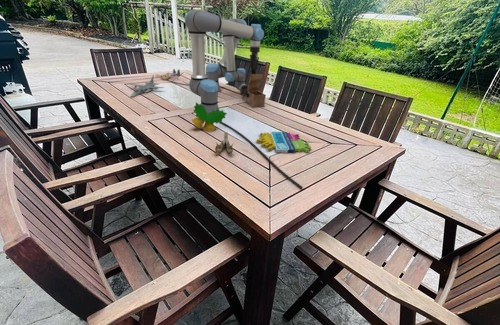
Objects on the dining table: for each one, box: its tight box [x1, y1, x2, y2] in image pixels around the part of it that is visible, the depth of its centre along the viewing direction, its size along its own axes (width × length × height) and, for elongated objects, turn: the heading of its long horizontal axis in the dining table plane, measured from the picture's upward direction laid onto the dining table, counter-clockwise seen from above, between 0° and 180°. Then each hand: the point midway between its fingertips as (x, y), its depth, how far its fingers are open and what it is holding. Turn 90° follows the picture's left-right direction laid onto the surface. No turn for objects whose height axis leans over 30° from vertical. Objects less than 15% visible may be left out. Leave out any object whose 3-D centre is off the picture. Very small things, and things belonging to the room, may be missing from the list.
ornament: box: [191, 102, 228, 132], centre depth 162 cm, size 21×8×15 cm, turn 105°
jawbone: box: [214, 131, 234, 156], centre depth 136 cm, size 9×15×10 cm
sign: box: [256, 131, 312, 154], centre depth 152 cm, size 26×2×30 cm
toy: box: [155, 68, 181, 81], centre depth 282 cm, size 28×7×30 cm
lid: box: [247, 70, 264, 91], centre depth 213 cm, size 15×10×9 cm
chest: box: [246, 90, 266, 108], centre depth 214 cm, size 14×10×10 cm
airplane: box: [129, 74, 165, 98], centre depth 227 cm, size 38×31×10 cm
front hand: (253, 77), depth 213 cm, fingers closed on lid
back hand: (254, 95), depth 215 cm, fingers closed on chest, 10 cm apart
